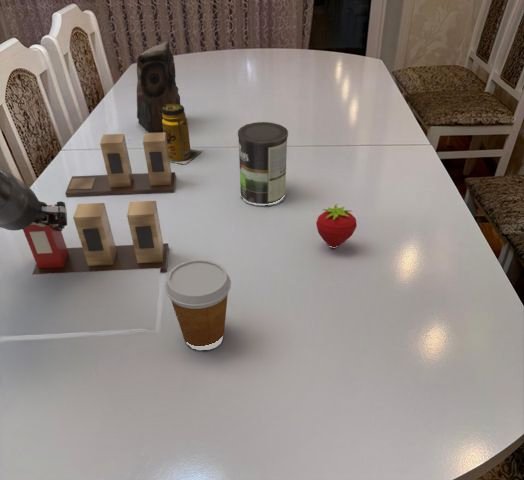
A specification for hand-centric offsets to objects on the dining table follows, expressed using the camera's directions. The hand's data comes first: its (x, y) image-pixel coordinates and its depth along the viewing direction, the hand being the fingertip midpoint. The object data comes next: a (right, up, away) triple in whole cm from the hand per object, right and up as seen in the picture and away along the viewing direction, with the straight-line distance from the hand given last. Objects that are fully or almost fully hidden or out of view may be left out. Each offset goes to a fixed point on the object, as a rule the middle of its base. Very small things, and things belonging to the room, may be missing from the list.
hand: (45, 226), depth 89 cm
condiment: (+19, +27, +37) cm, 49 cm away
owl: (+10, +41, +50) cm, 65 cm away
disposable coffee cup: (+30, -20, -10) cm, 37 cm away
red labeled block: (0, -6, +3) cm, 6 cm away
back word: (+7, +15, +25) cm, 30 cm away
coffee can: (+39, +12, +22) cm, 47 cm away
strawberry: (+53, -3, +7) cm, 54 cm away
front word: (+9, -6, +4) cm, 12 cm away
